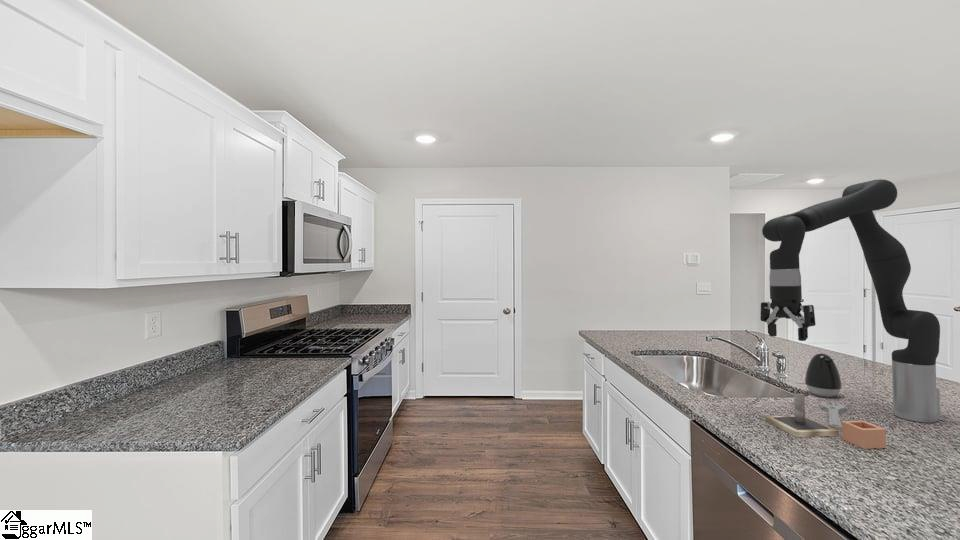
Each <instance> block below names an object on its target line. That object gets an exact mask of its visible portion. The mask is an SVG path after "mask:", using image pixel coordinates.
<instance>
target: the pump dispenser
mask: <svg viewBox="0 0 960 540" xmlns="http://www.w3.org/2000/svg"><path fill="white" fill-rule="evenodd" d="M839 372H840V371H839V369H838V367H837V365H836V363H835V361H834V359H833V358H832V357H831V356H830V355H828V354H826V353H816V354H815V355H813V356H812V358H811V359H810V360H809V363H808V366H807V368H806V373H805V377H804V383H805V385H806V388H807V389H808V391H809V392H810V393H811V394H813V395H815V396H819V397H822V398H824V397H825V398H833V397H836V396H837V395H838V394H839V393H840V391H841V389H842V388H843V385H842V379H841V376H840V373H839Z"/></svg>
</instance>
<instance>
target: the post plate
mask: <svg viewBox="0 0 960 540" xmlns="http://www.w3.org/2000/svg"><path fill="white" fill-rule="evenodd" d="M793 396H794V397H793V399H794V400H793V401H794V402H793V403H794V415H793V414H791V415H768V416H767V415H765V416H764V421H765V422H766V423H768V424H769V425H772V426H774V427H775V428H777V427H778V428H777V429H779V428H780V430H781V429H782V431H783V432H786V433H787V434H789V435H791V436H793V437H794V438H797V437H799V438H815V437H814V436H829V437H839V436H840V431H838V430H836V429H834V428H831V427H830V425H827V424H825V423H823V422H820V421H817V420H815V419H813V418H811V417H809V416H807V415H806V402H805V401H806V398H805V394H804V393H800V392H799V393H798V392H797V393H796V392H795V393H794V395H793Z"/></svg>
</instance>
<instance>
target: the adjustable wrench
mask: <svg viewBox="0 0 960 540" xmlns="http://www.w3.org/2000/svg"><path fill="white" fill-rule="evenodd" d="M818 408H819V409H820V408H821V410H823V409H824V410H823V411H826V412H828V419H829V422H828V423H829V427H831V428H834V429H836V430H841V431H842V421H841V419H840V415H839V414H841V413H843V412H846V409H847V408H846V406H845V405H844V404H842V403H839V402H834V405H832V404H831V405H829V403H827V402H825V401H821V402H820V403H819V404H818ZM840 412H841V413H840Z"/></svg>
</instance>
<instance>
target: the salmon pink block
mask: <svg viewBox="0 0 960 540" xmlns="http://www.w3.org/2000/svg"><path fill="white" fill-rule="evenodd" d="M841 427H842V430H841V440H842V439H843V440H842V441H844V440H845V442H847V443H849V442H850V443H849V444H851V443H852V445H853V444H854V445H853V446H855V445H856V446H855V447H857V446H859V447H858V448H860V447H861V448H860V449H862V448H863V449H862V450H872V449H871V448H886V449H887V430H886V428H883V427H881V426H878V425H876V424H873V423H870V422H868V421H865V420H844V421H843V420H842V421H841ZM868 448H869V449H868Z"/></svg>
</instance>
